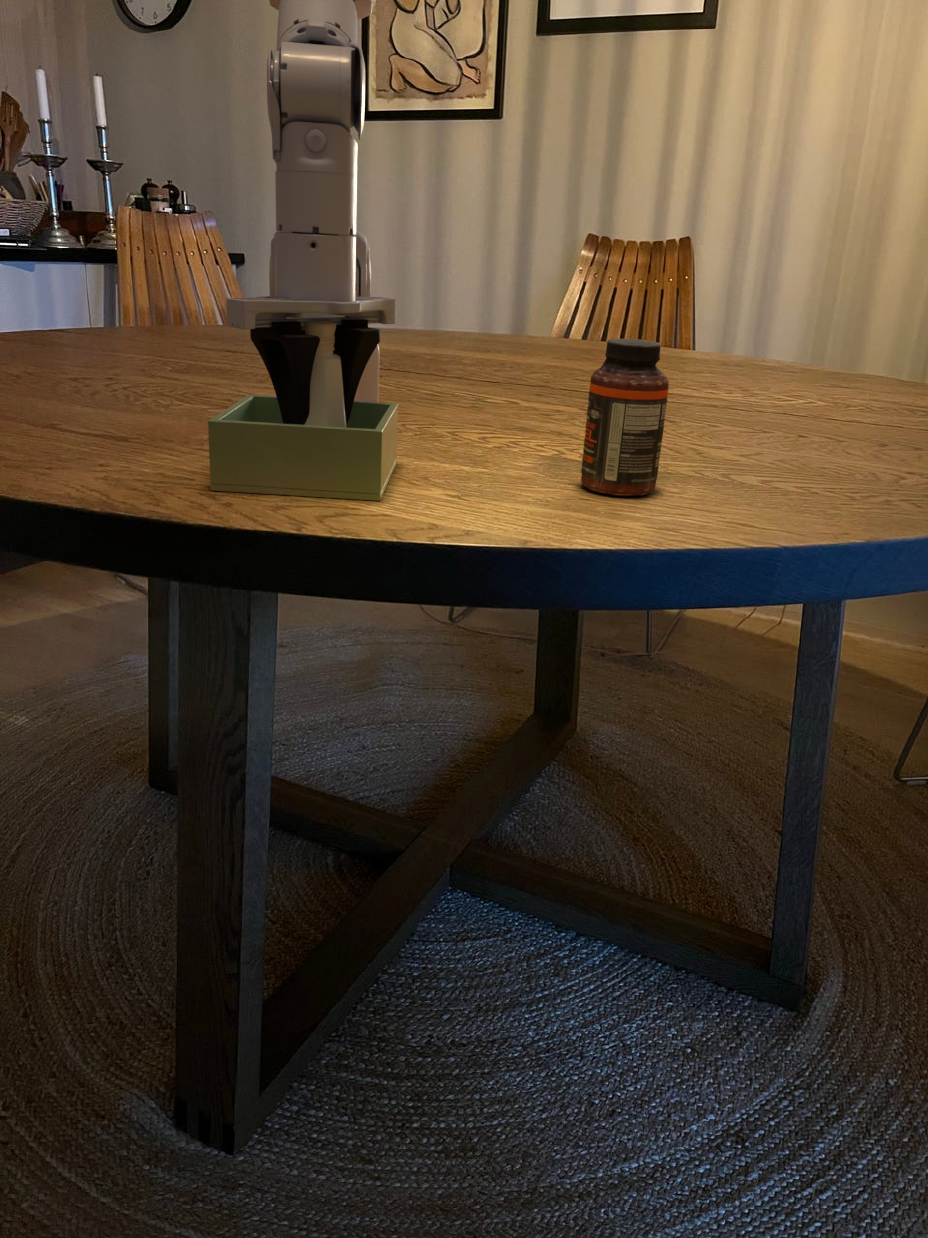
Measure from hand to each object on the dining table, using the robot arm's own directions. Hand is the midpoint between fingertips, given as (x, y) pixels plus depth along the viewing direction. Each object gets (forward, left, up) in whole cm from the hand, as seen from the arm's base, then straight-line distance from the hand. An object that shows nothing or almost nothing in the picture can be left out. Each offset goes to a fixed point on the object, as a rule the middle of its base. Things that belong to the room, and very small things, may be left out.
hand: (316, 423), depth 76 cm
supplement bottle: (-16, +17, -4) cm, 24 cm away
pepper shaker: (0, 0, -4) cm, 4 cm away
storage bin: (+1, 0, -4) cm, 4 cm away
